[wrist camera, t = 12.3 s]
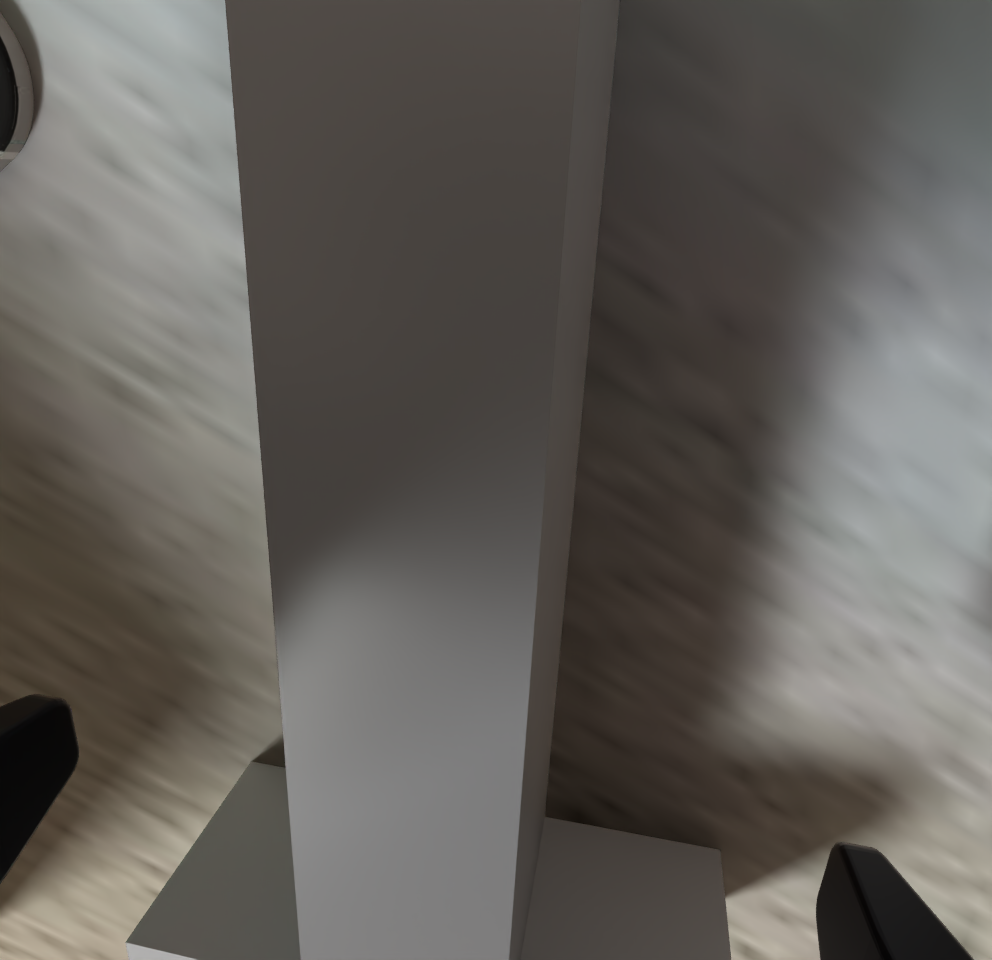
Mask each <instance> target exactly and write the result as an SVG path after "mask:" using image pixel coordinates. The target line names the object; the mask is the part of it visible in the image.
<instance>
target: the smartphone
mask: <svg viewBox="0 0 992 960" xmlns="http://www.w3.org/2000/svg"><path fill="white" fill-rule="evenodd" d="M33 113H34V94H33V85H32V79H31V74H30V70H29V67H28V63H27V60H26V58H25V55H24V52H23V50H22V48H21V46H20V44H19V42H18V40H17V37H16V36H15V34H14V33H13V31H12V29H11V28H10V26H9V25H8V23H7V22H6V20H5V19H4V17H3V16H2V14H1V13H0V171H1V170H2V169H3V168H4V167H6V166H7V165H8V164H9V163H10V162H11V161H12V160H13V159H14V158H15V157H16V156H17V154H18V153H19V152H20V151H21V149H22V147H23V146H24V144H25V142H26V140H27V138H28V135H29V132H30V129H31V125H32V119H33Z"/></svg>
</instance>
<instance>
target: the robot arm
mask: <svg viewBox="0 0 992 960" xmlns="http://www.w3.org/2000/svg"><path fill="white" fill-rule="evenodd" d="M78 758H79V746H78V742H77V737H76V732H75V727H74V722H73V717H72V713H71V708H70V706H69V704H68V703H67V702H66V701H65V700H63V699H61V698H56V697H51V696H45V695H40V694H33V695H29V696H26V697H23V698H21V699H18V700H16V701H13V702H11V703H8V704H6V705H3V706H1V707H0V884H1V882H2V881H3V879H4V878H5V877H6V875H7V874H8V872H9V871H10V869H11V868H12V866H13V865H14V863H15V862H16V860H17V858H18V857H19V855H20V854H21V852H22V851H23V849H24V848H25V846H26V845H27V843H28V841H29V840H30V838H31V837H32V835H33V834H34V832H35V831H36V829H37V828H38V826H39V824H40V823H41V821H42V820H43V818H44V817H45V815H46V814H47V812H48V811H49V809H50V807H51V806H52V804H53V803H54V801H55V800H56V798H57V797H58V795H59V794H60V792H61V791H62V789H63V787H64V786H65V784H66V783H67V781H68V780H69V778H70V777H71V775H72V773H73V772H74V770H75V767H76V765H77V762H78ZM816 922H817V932H818V941H819V950H820V959H821V960H974V959H973V958H972V957H971V955H970V954H969V953H968V952H967V951H966V950H965V948H964V947H963V946H962V945H961V944H960V943H959V942H958V940H957V939H956V938H955V937H954V936H953V935H952V933H951V932H950V931H949V930H948V929H947V928H946V926H945V925H944V924H943V923H942V922H941V921H940V920H939V918H938V917H937V916H936V915H935V914H934V913H933V911H932V910H931V909H930V908H929V907H928V906H927V904H926V903H925V902H924V901H923V900H922V899H921V898H920V896H919V895H918V894H917V893H916V892H915V891H914V889H913V888H912V887H911V886H910V885H909V884H908V883H907V881H906V880H905V879H904V878H903V877H902V876H901V874H900V873H899V872H898V871H897V870H896V869H895V867H894V866H893V865H892V864H891V863H890V862H889V861H888V859H887V858H886V857H885V856H884V855H883V854H882V853H881V852H879V851H878V850H877V849H875V848H872V847H867V846H861V845H856V844H850V843H845V842H839V843H836V844H835V845H834V846H833V848H832V850H831V852H830V856H829V859H828V862H827V866H826V869H825V873H824V876H823V879H822V883H821V886H820V890H819V893H818V897H817V904H816Z"/></svg>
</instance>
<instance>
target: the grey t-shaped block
mask: <svg viewBox="0 0 992 960" xmlns="http://www.w3.org/2000/svg"><path fill="white" fill-rule="evenodd" d="M225 3H226V16H227V29H228V41H229V54H230V67H231V79H232V92H233V105H234V118H235V130H236V143H237V156H238V168H239V181H240V194H241V206H242V219H243V232H244V245H245V257H246V270H247V283H248V295H249V308H250V321H251V334H252V346H253V359H254V372H255V384H256V397H257V410H258V422H259V435H260V448H261V461H262V473H263V486H264V499H265V511H266V524H267V537H268V549H269V562H270V575H271V588H272V600H273V613H274V626H275V638H276V651H277V664H278V676H279V689H280V702H281V715H282V727H283V740H284V753H285V765H286V768H284V767H278V766H273V765H268V764H262V763H257V762H252V761H251V762H250V764H249V765H248V767H247V768H246V770H245V771H244V773H243V774H242V775H241V777H240V778H239V780H238V781H237V783H236V784H235V786H234V787H233V788H232V790H231V791H230V793H229V794H228V796H227V797H226V798H225V800H224V801H223V803H222V804H221V806H220V807H219V809H218V810H217V811H216V813H215V814H214V816H213V817H212V819H211V820H210V821H209V823H208V824H207V826H206V827H205V829H204V830H203V832H202V833H201V834H200V836H199V837H198V839H197V840H196V842H195V843H194V844H193V846H192V847H191V849H190V850H189V852H188V853H187V855H186V856H185V857H184V859H183V860H182V862H181V863H180V865H179V866H178V868H177V869H176V870H175V872H174V873H173V875H172V876H171V878H170V879H169V880H168V882H167V883H166V885H165V886H164V888H163V889H162V891H161V892H160V893H159V895H158V896H157V898H156V899H155V901H154V902H153V903H152V905H151V906H150V908H149V909H148V911H147V912H146V914H145V915H144V916H143V918H142V919H141V921H140V922H139V924H138V925H137V926H136V928H135V929H134V931H133V932H132V934H131V935H130V937H129V938H128V939H127V941H126V942H125V943H126V948H127V953H128V957H129V960H731V952H730V942H729V932H728V922H727V912H726V902H725V892H724V882H723V872H722V862H721V852H720V850H718V849H713V848H707V847H702V846H697V845H691V844H686V843H681V842H676V841H670V840H665V839H660V838H654V837H649V836H644V835H639V834H633V833H628V832H623V831H617V830H612V829H607V828H601V827H596V826H591V825H586V824H580V823H575V822H570V821H564V820H559V819H554V818H548V817H545V810H546V799H547V788H548V777H549V766H550V755H551V745H552V734H553V723H554V712H555V701H556V690H557V679H558V669H559V658H560V647H561V636H562V625H563V614H564V604H565V593H566V582H567V571H568V560H569V549H570V539H571V528H572V517H573V506H574V495H575V484H576V473H577V463H578V452H579V441H580V430H581V419H582V408H583V398H584V387H585V376H586V365H587V354H588V343H589V333H590V322H591V311H592V300H593V289H594V278H595V267H596V257H597V246H598V235H599V224H600V213H601V202H602V192H603V181H604V170H605V159H606V148H607V137H608V127H609V116H610V105H611V94H612V83H613V72H614V61H615V51H616V40H617V29H618V18H619V7H620V0H225Z"/></svg>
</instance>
